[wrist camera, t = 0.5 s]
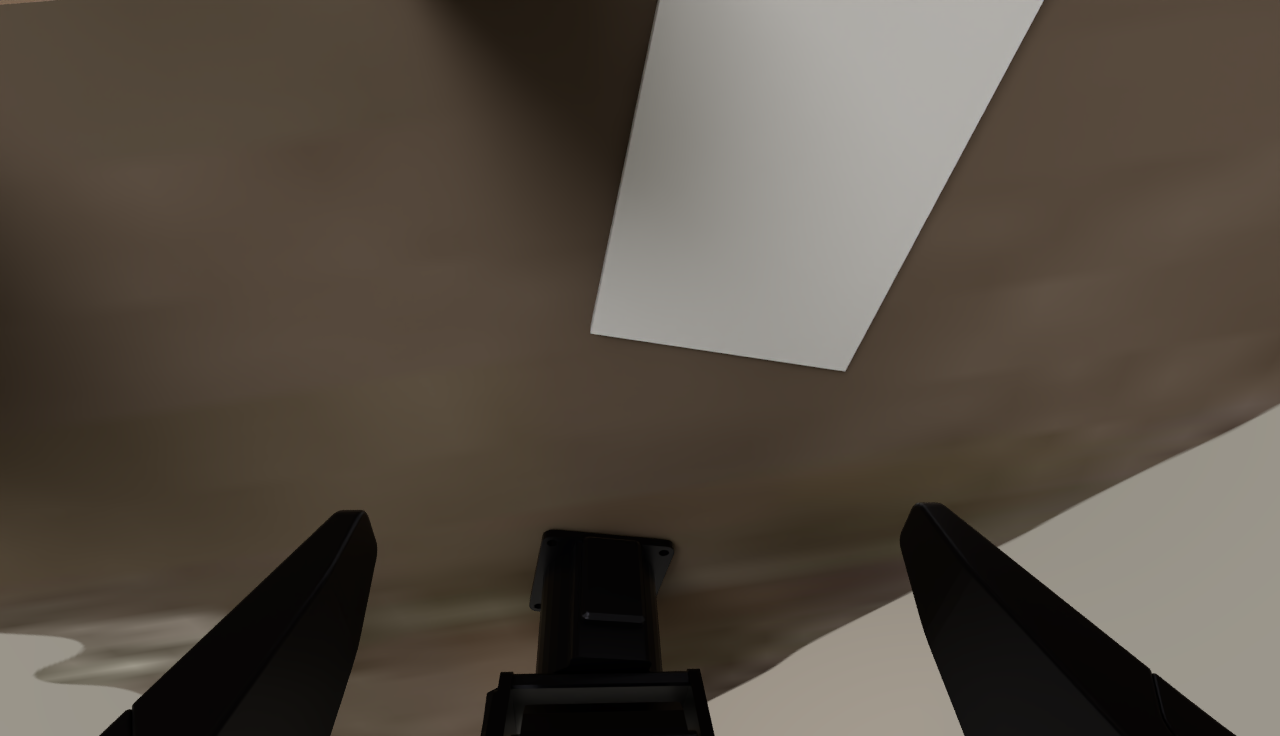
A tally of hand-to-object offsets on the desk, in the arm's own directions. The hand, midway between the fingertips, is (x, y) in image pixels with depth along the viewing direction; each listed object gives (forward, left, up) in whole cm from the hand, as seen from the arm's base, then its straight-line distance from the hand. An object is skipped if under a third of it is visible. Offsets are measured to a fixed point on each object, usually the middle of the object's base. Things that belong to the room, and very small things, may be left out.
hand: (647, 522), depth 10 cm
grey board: (+3, -5, -12) cm, 14 cm away
